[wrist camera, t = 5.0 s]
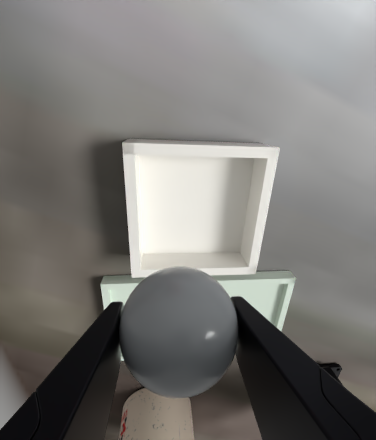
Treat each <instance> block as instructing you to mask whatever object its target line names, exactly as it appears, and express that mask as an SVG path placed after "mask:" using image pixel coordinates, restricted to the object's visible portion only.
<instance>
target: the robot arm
mask: <svg viewBox="0 0 376 440" xmlns="http://www.w3.org/2000/svg"><path fill="white" fill-rule="evenodd" d="M230 299H231V301H232V303H233V305H234V307H235V311H236V314H237V319H238V328H239V333H238V344H237V349H236V352H235V354H236V358H237V362H238V365H239V368H240V371H241V374H242V377H243V381H244V384H245V387H246V390H247V393H248V396H249V399H250V402H251V405H252V409H253V412H254V415H255V418H256V421H257V424H258V427H259V430H260V433H261V437H262V440H376V412H374V411H373V410H372V409H371V408H369V407H368V406H367V405H366V404H364V403H363V402H362V401H361V400H359V399H358V398H357V397H356V396H354V395H353V394H352V393H351V392H349V391H348V390H347V389H346V388H345V387H344V386H343V385H342V383H341V382H340V380H339V379H338V376H339V374H340V372H341V370H342V368H341V366H340V365H339V364H331V365H318V364H317V363H316V362H315V361H314V360H313V359H312V358H310V357H309V356H308V355H307V354H306V353H305V352H304V351H302V350H301V349H300V348H299V347H298V346H297V345H296V344H295V343H293V342H292V341H291V340H290V339H289V338H288V337H287V336H286V335H284V334H283V333H282V332H281V331H280V330H279V329H278V328H277V327H275V326H274V325H273V324H272V323H271V322H270V321H269V320H268V319H266V318H265V317H264V316H263V315H262V314H261V313H260V312H258V311H257V310H256V309H255V308H254V307H253V306H252V305H251V304H249V303H248V302H247V301H246V300H245V299H244V298H243V297H241V296H232V297H231V298H230ZM123 308H124V305H123V302H122V301H118V302H111V303H110V304H109V305H108V306H107V308H106V309H105V310H104V311H103V312H102V313H101V314H100V316H99V317H98V318H97V319H96V320H95V321H94V323H93V324H92V325H91V326H90V327H89V328H88V330H87V331H86V332H85V333H84V334H83V335H82V337H81V338H80V339H79V340H78V341H77V342H76V344H75V345H74V346H73V347H72V348H71V349H70V351H69V352H68V353H67V354H66V355H65V356H64V358H63V359H62V360H61V361H60V362H59V363H58V365H57V366H56V367H55V368H54V369H53V370H52V371H51V373H50V374H49V375H48V376H47V377H46V378H45V380H44V381H43V382H42V383H41V384H40V385H39V387H38V388H37V389H36V392H33V393H32V395H31V396H30V397H29V398H28V399H27V401H26V402H25V403H24V404H23V405H22V406H21V407H20V408H19V410H18V411H17V412H16V413H15V414H14V415H13V416H12V418H11V419H10V420H9V421H8V422H7V423H6V424H5V425H4V426H3V427H2V428H1V430H0V440H104V437H105V433H106V428H107V424H108V419H109V415H110V410H111V406H112V401H113V397H114V392H115V388H116V383H117V379H118V374H119V369H120V362H121V348H120V344H119V324H120V318H121V314H122V311H123Z"/></svg>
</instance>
